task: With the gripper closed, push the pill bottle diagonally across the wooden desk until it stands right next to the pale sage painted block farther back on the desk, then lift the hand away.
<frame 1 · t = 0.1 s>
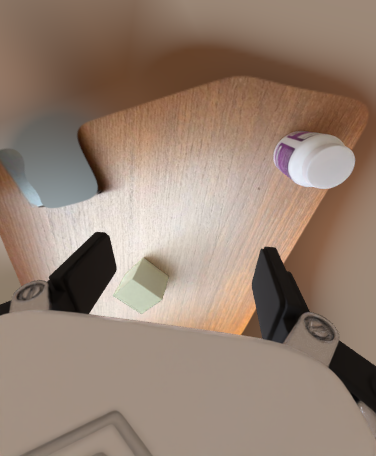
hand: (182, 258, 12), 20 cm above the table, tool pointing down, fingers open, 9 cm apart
sage block: (146, 275, 41), on the table
pill bottle: (293, 152, 26), on the table
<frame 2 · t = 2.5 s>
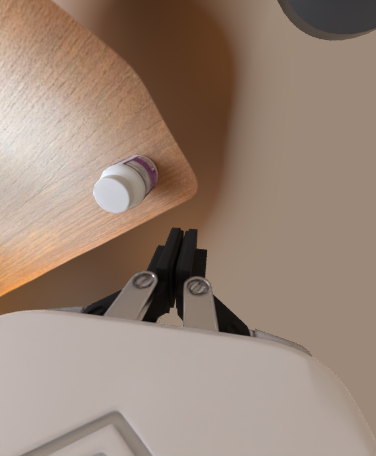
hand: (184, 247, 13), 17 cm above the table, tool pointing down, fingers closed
pill bottle: (142, 172, 28), on the table
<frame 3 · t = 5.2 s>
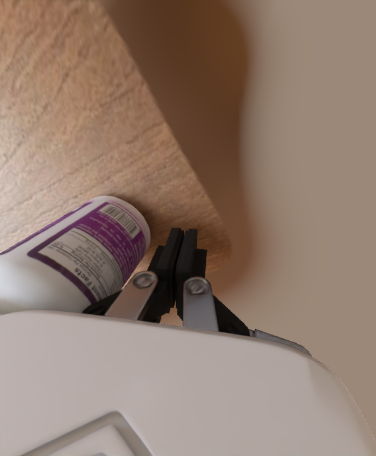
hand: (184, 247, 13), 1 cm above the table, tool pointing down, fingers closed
pill bottle: (121, 226, 14), on the table, touching gripper
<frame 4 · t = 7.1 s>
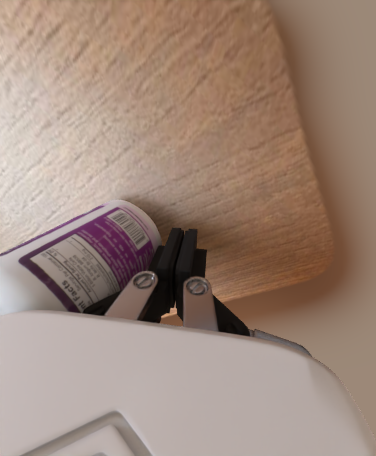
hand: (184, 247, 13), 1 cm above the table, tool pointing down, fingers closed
pill bottle: (135, 231, 14), point 1 cm above the table, touching gripper
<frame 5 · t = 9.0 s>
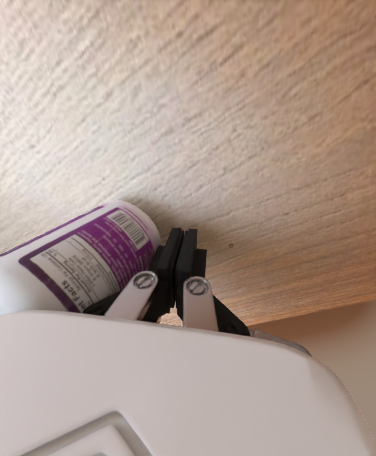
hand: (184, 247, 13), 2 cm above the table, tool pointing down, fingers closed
pill bottle: (135, 231, 14), point 1 cm above the table, touching gripper
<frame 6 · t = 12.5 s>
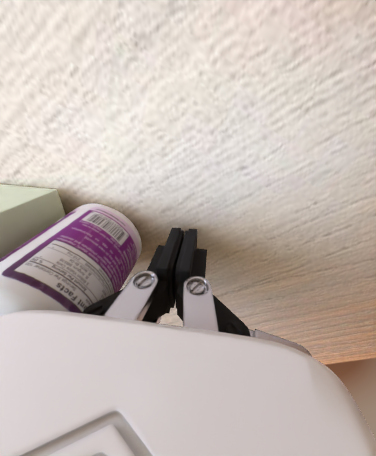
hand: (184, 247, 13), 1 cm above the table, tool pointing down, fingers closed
sage block: (31, 230, 14), on the table, touching pill bottle
pill bottle: (110, 233, 14), on the table, touching gripper, sage block
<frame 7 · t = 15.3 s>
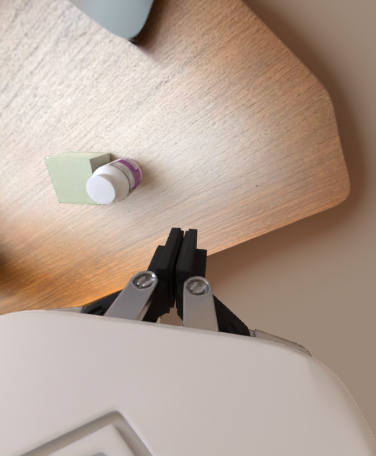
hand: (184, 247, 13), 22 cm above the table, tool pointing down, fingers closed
sage block: (94, 172, 34), on the table
pill bottle: (128, 172, 33), on the table
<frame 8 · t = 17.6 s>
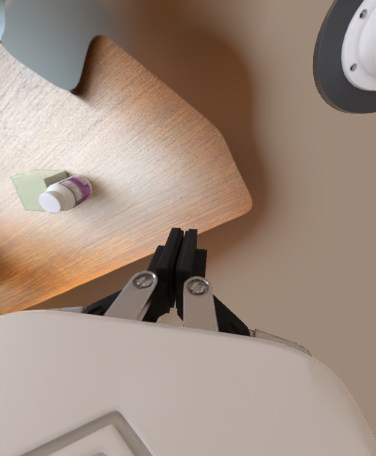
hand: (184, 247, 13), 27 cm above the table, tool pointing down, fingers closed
sage block: (55, 185, 43), on the table
pill bottle: (82, 186, 42), on the table
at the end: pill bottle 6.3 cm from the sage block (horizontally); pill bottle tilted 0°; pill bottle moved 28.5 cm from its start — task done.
